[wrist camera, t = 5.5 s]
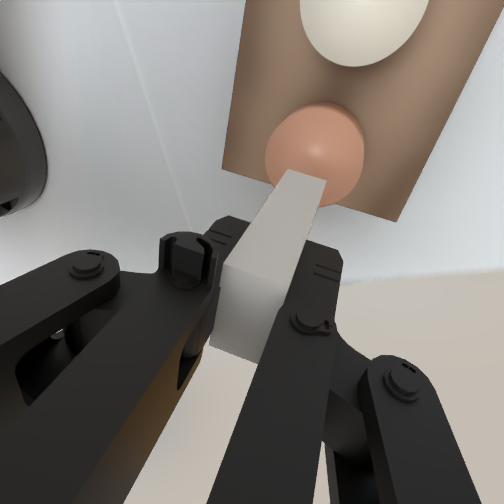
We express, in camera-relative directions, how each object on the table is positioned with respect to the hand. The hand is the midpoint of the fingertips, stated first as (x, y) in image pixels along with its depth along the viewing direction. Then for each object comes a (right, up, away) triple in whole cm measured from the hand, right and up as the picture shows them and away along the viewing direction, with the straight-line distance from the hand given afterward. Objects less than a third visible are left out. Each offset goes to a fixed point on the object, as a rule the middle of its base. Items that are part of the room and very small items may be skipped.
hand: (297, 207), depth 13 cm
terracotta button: (+2, +4, +7) cm, 8 cm away
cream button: (+3, +10, +3) cm, 11 cm away
